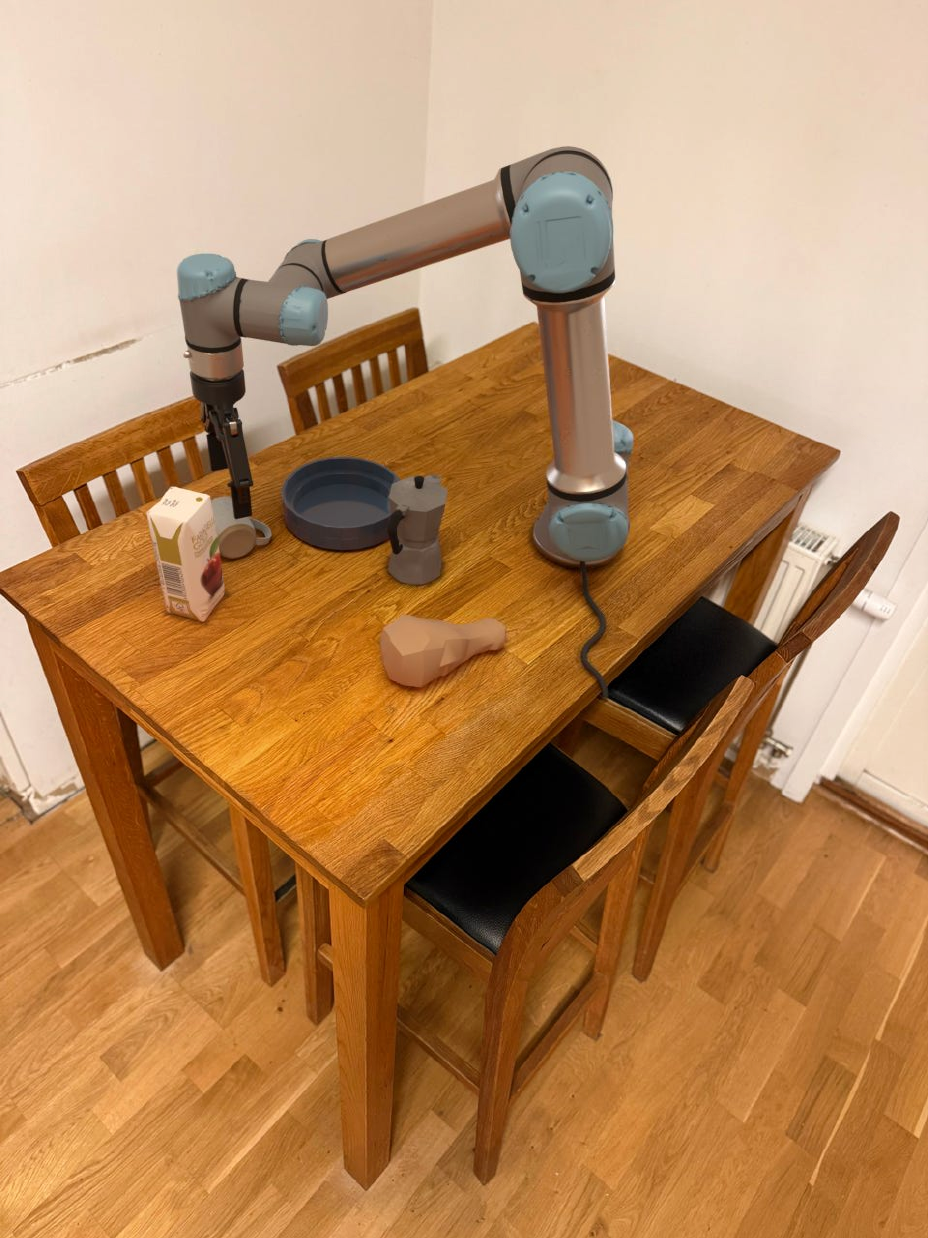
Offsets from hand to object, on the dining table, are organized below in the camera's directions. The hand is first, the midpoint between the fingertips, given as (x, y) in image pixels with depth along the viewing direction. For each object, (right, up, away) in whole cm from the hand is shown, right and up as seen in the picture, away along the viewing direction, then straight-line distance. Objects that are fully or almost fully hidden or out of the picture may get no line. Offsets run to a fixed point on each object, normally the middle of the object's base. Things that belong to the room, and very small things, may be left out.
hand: (231, 492), depth 141 cm
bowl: (+16, -2, +15) cm, 22 cm away
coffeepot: (+28, -13, +5) cm, 32 cm away
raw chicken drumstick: (+34, -26, -9) cm, 44 cm away
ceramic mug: (-1, -8, +7) cm, 11 cm away
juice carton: (-4, -18, -4) cm, 19 cm away
